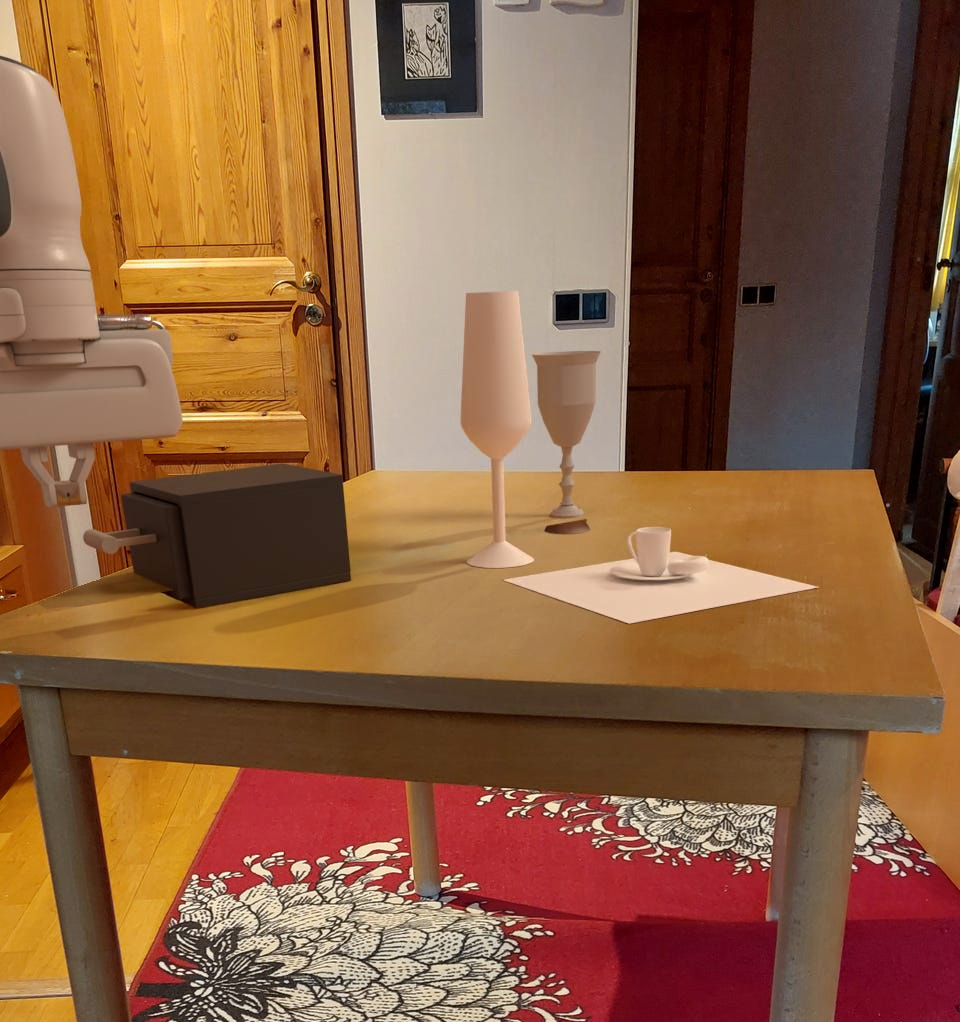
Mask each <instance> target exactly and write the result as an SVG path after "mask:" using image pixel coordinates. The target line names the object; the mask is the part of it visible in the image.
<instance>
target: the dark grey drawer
mask: <svg viewBox="0 0 960 1022" xmlns="http://www.w3.org/2000/svg"><path fill="white" fill-rule="evenodd" d="M120 498H121V505H122V511H123V516H124V522H125V528H126V529H123V530H115V531H109V532H101V531H99V530H97V529H94V528H88V529H87V530H85V531H84V533H83V536H82V539H83V543H84V545H86V546H88V547H90V548H93V549H96V550H97V551H100V552H102V553H104V554H107V555H114V554H116V553H117V552H118V551H119V549H120V548H123V547H128V546H129V547H128V548H129V552H130V557H131V559H130V560H131V564H132V571H133V574H135V575H138V576H140V577H142V578H145V579H147V580H149V581H151V582H153V583H156V584H158V585H160V586H162V587H165V588H167V589H170V590H165V591H163V592H164V593H166V594H168V595H170V596H173V597H175V598H177V599H185V598H190V597H191V590H190V583H189V576H188V569H187V562H186V555H185V549H184V542H183V535H182V528H181V521H180V514H179V507H178V504H176V503H172V502H169V501H165V500H162V499H158V498H155V497H151V498H149V497H145V496H142V495H138V494H135V493H131V492H129V493H128V492H127V493H121V494H120ZM170 596H169V597H170Z"/></svg>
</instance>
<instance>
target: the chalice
mask: <svg viewBox="0 0 960 1022" xmlns="http://www.w3.org/2000/svg"><path fill="white" fill-rule="evenodd" d="M600 355H601V351H600V350H572V351H571V350H570V351H549V352H538V353H532V354H531V356H532V358H533V360H534V362H535V364H536V381H537V382H536V383H537V384H536V385H537V406H538V409H539V412H540V416H541V419H542V422H543V425H544V426H545V428H546V430H547V432H548V435H549V436H550V439H551V441H552V443H553V444H554V445H556V446H558V447H559V448H560V449H561V453H562V458H561V463H560V465H559V469H560V470H561V473H562V477H561V481H560V482H559V484H558V486H559V487H560V488H561V491H562V500H561V502H560V503H559V506H557V507H554V508H553V510H552V511H550V517H551V518H555V519H575V518H581V517H584V514H585V512H584V511H583V509H582V508H581V507H579V506H576V505H575V502H574V501H573V497H572V492H573V488H574V487H575V485H576V483H575V482H574V480H573V477H572V473H573V470H574V468H575V464H574V462H573V458H572V452H573V447H575V446H577V445H579V444H580V443H581V441H582V440H583V437H584V435H585V433H586V430H587V427H588V425H589V424H590V420H591V418H592V414H593V412H594V408H595V406H596V400H597V399H596V397H597V395H596V392H597V391H596V388H597V387H596V386H597V384H596V383H597V382H596V379H597V377H596V376H597V375H596V374H597V373H596V370H597V368H596V367H597V361H598V359H599V357H600ZM587 521H588V520H587V518H583V519H579V520H577V519H576V520H571V521H566V522H561V523H556V524H548V525H546V526H545V528H544V533H548V534H554V535H555V534H556V535H573V534H582V533H586V532H589V531H591V528H590V526H589V524H588V522H587Z"/></svg>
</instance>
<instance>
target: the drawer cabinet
mask: <svg viewBox="0 0 960 1022" xmlns="http://www.w3.org/2000/svg"><path fill="white" fill-rule="evenodd" d="M128 483H129V489H130V493H135V494H138V495H142V496H145V497H149V498H151V497H155V498H158V499H162V500H165V501H169V502H172V503H176V504H178V507H179V514H180V521H181V528H182V535H183V542H184V549H185V555H186V562H187V569H188V576H189V583H190V590H191V597H190V598H185V599H177V598H175V597H173V596H170V595H168V594H166V593H164V591H160V594H163V595H165V596H168V597H170V598H171V599H174V600H176V601H178V602H181V603H182V604H185V605H188V606H190V607H191V608H194V609H201V608H207V607H212V606H219V605H224V604H229V603H235V602H241V601H246V600H251V599H256V598H257V599H258V598H263V597H267V596H273V595H278V594H279V595H280V594H283V593H290V592H296V591H301V590H306V589H311V588H312V589H313V588H316V587H322V586H323V587H324V586H327V585H328V586H329V585H333V584H338V583H345V582H350V581H352V574H351V572H352V571H351V560H350V559H351V558H350V549H349V535H348V525H347V524H348V523H347V514H346V503H345V502H346V501H345V490H344V489H345V488H344V479H343V474H340V473H336V472H330V471H325V470H319V469H315V468H309V467H303V466H299V465H292V464H289V463H288V464H286V463H275V464H268V465H259V466H258V465H257V466H251V467H242V468H233V469H225V470H216V471H210V472H209V471H208V472H201V473H192V474H183V475H176V476H175V475H174V476H166V477H159V478H149V479H143V480H141V479H140V480H134V481H133V480H132V481H129V482H128ZM262 596H263V597H262Z"/></svg>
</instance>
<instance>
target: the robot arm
mask: <svg viewBox="0 0 960 1022" xmlns="http://www.w3.org/2000/svg"><path fill="white" fill-rule="evenodd" d="M80 191H81V190H80V184H79V179H78V173H77V165H76V161H75V155H74V150H73V144H72V141H71V136H70V132H69V128H68V123H67V120H66V116H65V113H64V110H63V107H62V104H61V102H60V99H59V97H58V95H57V93H56V91H55V89H54V87H53V85H52V84H51V82H49V80H48V79H47V78H46V77H45V76H43V75H42V74H41V73H40V72H38V71H37V70H35V69H34V68H33V67H31V66H29V65H27V64H25V63H23V62H20V61H19V60H17V59H16V60H15V59H13V58H11V57H7V56H3V55H0V451H4V450H5V451H6V450H18V449H20V453H21V460H22V462H23V464H24V465H25V466H26V468H27V469H28V470H29V472H30V473H31V474H32V475H33V476H34V478H35V479H36V481H38V483H39V484H40V485H41V491H42V496H43V502H44V504H45V507H48V508H50V509H52V508H61V507H68V506H69V507H70V506H81V505H82V506H83V505H87V504H88V497H87V491H86V484H85V482H87V479H88V477H89V475H90V472H91V469H92V468H93V465H94V462H95V460H96V455H95V448H94V444H99V443H100V444H101V443H113V442H127V441H140V440H152V439H153V440H154V439H165V438H166V439H167V438H175V437H177V435H178V433H179V432H180V430H181V428H182V426H183V413H182V407H181V406H182V405H181V402H180V401H181V400H180V396H179V392H178V388H177V384H176V380H175V376H174V373H173V369H172V366H173V362H174V354H173V353H174V352H173V345H172V343H173V342H172V338H171V334H170V333H169V331H168V330H167V328H166V326H164V325H163V324H162V323H161V322H159V321H158V320H155V319H152V316H151V315H149V314H146V313H134V314H129V315H127V314H125V315H123V314H116V313H115V314H114V313H110V314H109V313H108V314H102V313H101V314H99V313H98V312H97V311H98V310H97V304H96V298H95V291H94V284H93V276H92V272H91V271H92V267H91V265H90V262H89V259H88V256H87V254H86V252H85V249H84V246H83V242H82V237H81V217H82V206H83V205H82V198H81V197H82V196H81V192H80ZM154 326H155V327H156V328H158V329H155V328H154V329H153V327H154ZM59 446H67V450H68V457H70V458H73V459H75V461H74V464H73V467H72V470H71V471H70V472H71V473H70V475H69V479H66V480H58V481H55V480H54V478H53V477H52V476H51V474H50V473H49V472H48V471H47V469H46V467H44V465H43V464H42V463H47V462H48V461H49V457H48V450H47V447H59Z"/></svg>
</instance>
